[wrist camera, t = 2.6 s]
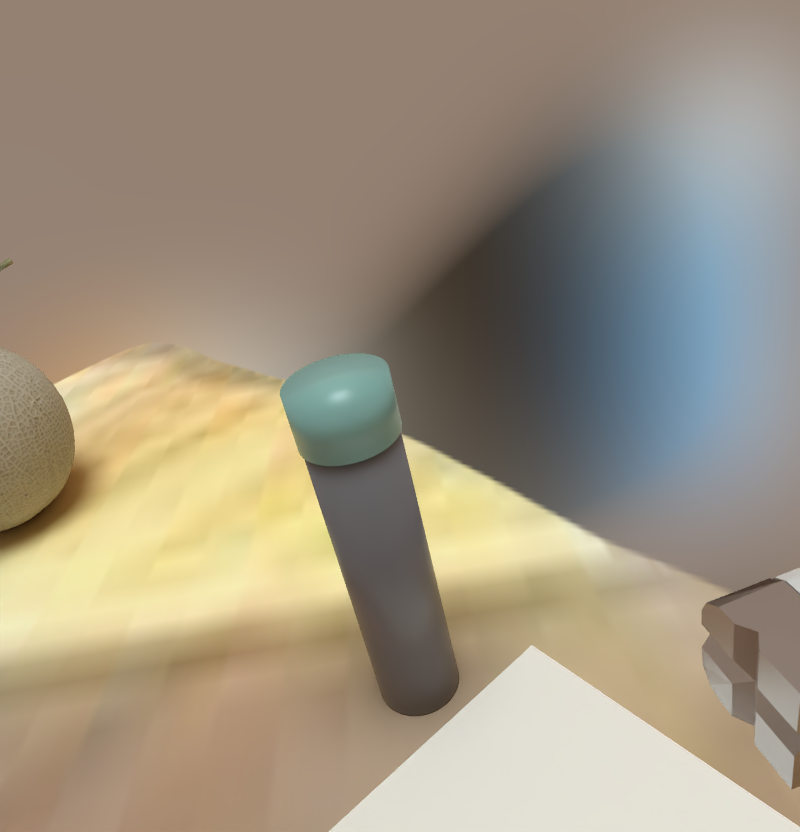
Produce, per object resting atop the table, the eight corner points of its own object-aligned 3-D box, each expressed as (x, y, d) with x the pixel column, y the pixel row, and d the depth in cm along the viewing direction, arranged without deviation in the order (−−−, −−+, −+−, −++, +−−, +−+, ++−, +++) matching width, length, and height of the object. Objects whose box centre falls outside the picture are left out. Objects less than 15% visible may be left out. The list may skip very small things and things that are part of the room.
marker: (361, 684, 29) (259, 390, 22) (423, 634, 31) (346, 344, 24) (415, 734, 27) (319, 422, 20) (478, 677, 29) (411, 369, 21)
